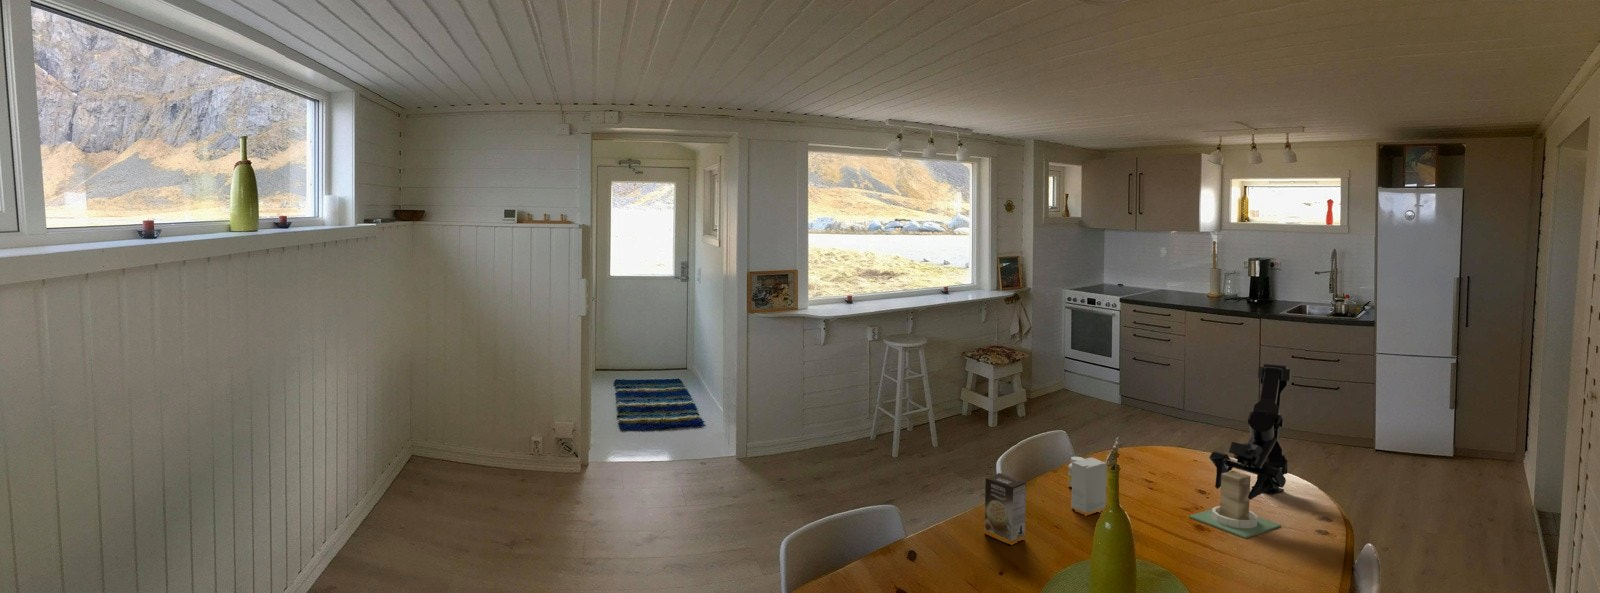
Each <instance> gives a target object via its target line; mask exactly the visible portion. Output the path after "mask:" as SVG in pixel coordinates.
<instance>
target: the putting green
mask: <svg viewBox="0 0 1600 593" xmlns="http://www.w3.org/2000/svg"><path fill="white" fill-rule="evenodd" d="M1188 518H1189V519H1192V520H1194V521H1197V522H1200V523H1203V524H1205V525H1209V526H1211V527H1214V528H1216V529H1219V530H1220V531H1221V530H1222V531H1225V532H1226V533H1230V534H1233V535H1235V536H1237V537H1240V538H1242V539H1248V538H1252V537H1254V536H1257V535H1260V534H1263V533H1266V532H1268V531H1269V532H1270V531H1272V530H1275V529H1278V528H1280V527H1282V524H1280V523H1277V522H1274V521H1271V520H1268V519H1264V518H1262V517H1260V516H1258V515H1257V514H1256V513H1254V512H1253V511H1252V510H1249V520H1237V519H1231V518H1227V517H1224V516H1222V515H1220V505H1217V506H1214V507H1212V508H1210V509H1207V510H1204V511H1201V512H1196V513H1194V514H1190V515H1188Z"/></svg>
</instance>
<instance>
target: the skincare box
mask: <svg viewBox="0 0 1600 593" xmlns="http://www.w3.org/2000/svg"><path fill="white" fill-rule="evenodd" d="M1106 463H1107V462H1104V461H1102V460H1100V459H1097V458H1095V457H1088V458H1084V460H1080V461H1076V462H1072V489H1071V492H1070V493H1071V494H1070V495H1071V498H1070V499H1071V501H1070V503H1071V504H1070V506H1071V507H1073V508H1075V509H1077V510H1080V511H1082V512H1085V513H1090V512H1094V511H1096V510H1099V509H1101V508H1102V509H1101V510H1100V512H1099V513H1102V512H1101V511H1102V510H1103V509H1104V507H1105V506H1107V478H1108V477H1107V476H1108V474H1107V473H1108V469H1107V470H1106ZM1071 507H1070V508H1071Z"/></svg>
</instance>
